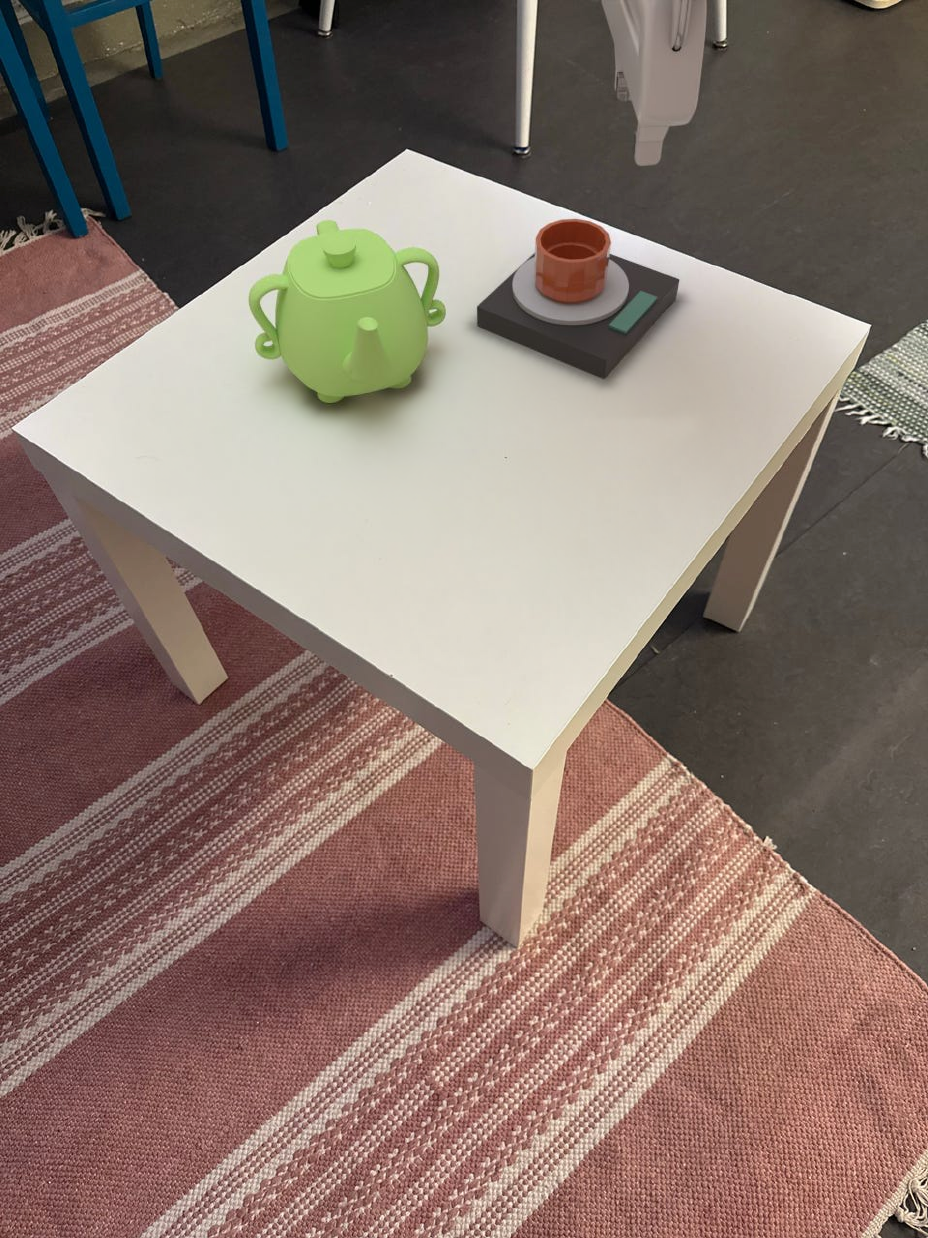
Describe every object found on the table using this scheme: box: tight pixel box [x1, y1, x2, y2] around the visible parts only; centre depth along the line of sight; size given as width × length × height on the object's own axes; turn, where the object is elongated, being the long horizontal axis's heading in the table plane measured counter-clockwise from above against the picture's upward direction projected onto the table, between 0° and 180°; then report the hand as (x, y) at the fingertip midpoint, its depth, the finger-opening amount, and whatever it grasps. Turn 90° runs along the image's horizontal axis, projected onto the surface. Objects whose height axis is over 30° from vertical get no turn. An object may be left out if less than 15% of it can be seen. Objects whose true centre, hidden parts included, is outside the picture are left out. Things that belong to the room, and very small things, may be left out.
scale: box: [476, 252, 680, 380], centre depth 88 cm, size 14×14×3 cm
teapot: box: [248, 219, 447, 404], centre depth 80 cm, size 16×14×13 cm
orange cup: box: [534, 218, 612, 303], centre depth 85 cm, size 7×7×5 cm
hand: (635, 127), depth 69 cm, fingers open, 8 cm apart
